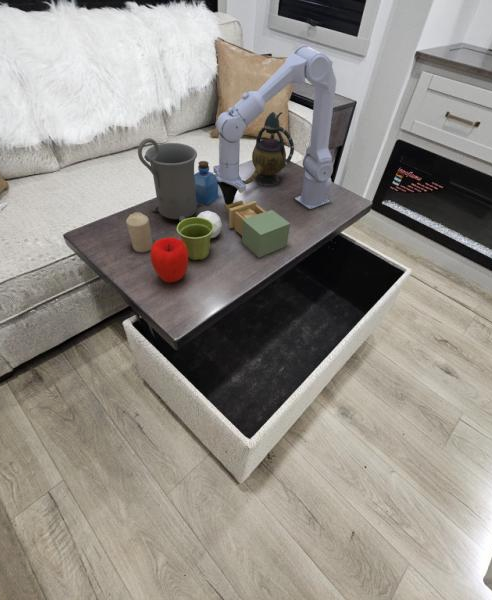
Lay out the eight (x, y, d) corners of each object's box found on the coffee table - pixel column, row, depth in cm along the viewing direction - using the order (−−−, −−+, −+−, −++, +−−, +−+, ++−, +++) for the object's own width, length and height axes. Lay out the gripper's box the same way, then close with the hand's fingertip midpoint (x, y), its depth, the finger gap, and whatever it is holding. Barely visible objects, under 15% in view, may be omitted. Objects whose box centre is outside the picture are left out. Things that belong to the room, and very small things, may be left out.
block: (257, 226, 100) (249, 220, 102) (257, 214, 97) (250, 208, 99) (246, 230, 98) (238, 223, 101) (246, 218, 96) (238, 212, 98)
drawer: (220, 219, 103) (220, 201, 99) (244, 211, 107) (245, 193, 103) (242, 238, 97) (243, 220, 93) (267, 229, 101) (268, 211, 97)
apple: (174, 295, 81) (168, 260, 73) (147, 280, 84) (139, 246, 76) (197, 275, 86) (194, 241, 79) (171, 262, 89) (166, 228, 81)
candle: (148, 254, 91) (141, 222, 84) (129, 250, 91) (121, 219, 84) (156, 242, 95) (150, 211, 88) (138, 239, 95) (131, 207, 88)
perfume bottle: (218, 197, 114) (217, 162, 105) (206, 204, 110) (205, 169, 101) (203, 191, 116) (201, 157, 107) (192, 198, 112) (189, 163, 103)
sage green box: (241, 242, 97) (242, 219, 92) (269, 232, 102) (271, 209, 96) (258, 258, 93) (260, 234, 87) (286, 246, 97) (290, 223, 92)
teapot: (292, 176, 128) (302, 109, 111) (255, 202, 113) (260, 129, 96) (266, 167, 132) (272, 101, 115) (227, 190, 117) (227, 119, 101)
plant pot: (200, 269, 88) (198, 242, 82) (172, 255, 91) (168, 229, 85) (221, 251, 94) (220, 225, 87) (194, 239, 97) (192, 213, 91)
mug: (182, 196, 113) (174, 116, 95) (214, 213, 107) (212, 131, 89) (136, 219, 102) (117, 133, 84) (169, 239, 96) (155, 151, 78)
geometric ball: (211, 247, 99) (209, 239, 91) (190, 230, 99) (186, 221, 91) (227, 227, 100) (227, 218, 92) (206, 211, 100) (204, 200, 92)
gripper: (203, 153, 97) (206, 196, 107) (231, 174, 89) (231, 218, 99) (224, 149, 100) (224, 191, 110) (252, 168, 92) (250, 211, 102)
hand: (228, 203), depth 105 cm, fingers closed
